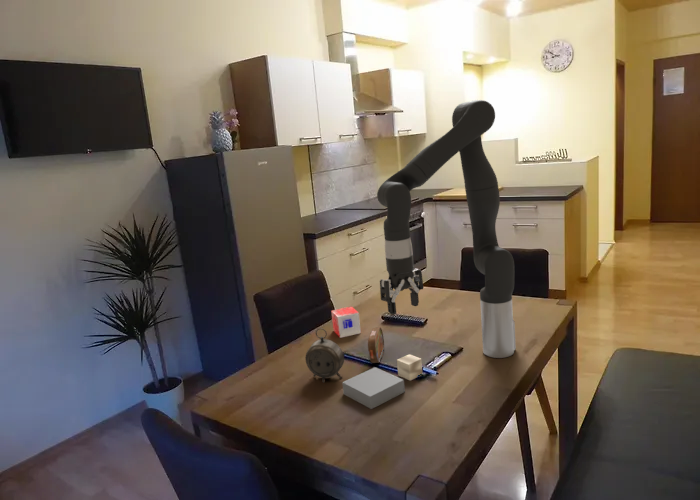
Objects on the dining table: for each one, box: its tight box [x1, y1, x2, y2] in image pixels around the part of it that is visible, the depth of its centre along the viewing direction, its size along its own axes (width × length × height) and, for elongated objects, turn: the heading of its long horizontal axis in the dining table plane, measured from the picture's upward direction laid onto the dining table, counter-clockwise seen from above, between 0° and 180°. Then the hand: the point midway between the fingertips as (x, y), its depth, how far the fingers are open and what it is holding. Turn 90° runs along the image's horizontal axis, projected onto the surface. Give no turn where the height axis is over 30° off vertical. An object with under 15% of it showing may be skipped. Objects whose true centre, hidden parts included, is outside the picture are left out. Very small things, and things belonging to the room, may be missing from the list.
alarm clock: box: [305, 327, 345, 383], centre depth 153 cm, size 11×5×16 cm, turn 71°
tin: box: [367, 326, 385, 364], centre depth 166 cm, size 15×3×8 cm, turn 168°
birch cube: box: [396, 354, 423, 381], centre depth 152 cm, size 5×5×5 cm
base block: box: [342, 366, 406, 410], centre depth 144 cm, size 12×12×4 cm
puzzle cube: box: [330, 306, 362, 338], centre depth 190 cm, size 8×8×8 cm
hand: (404, 309), depth 148 cm, fingers open, 8 cm apart
